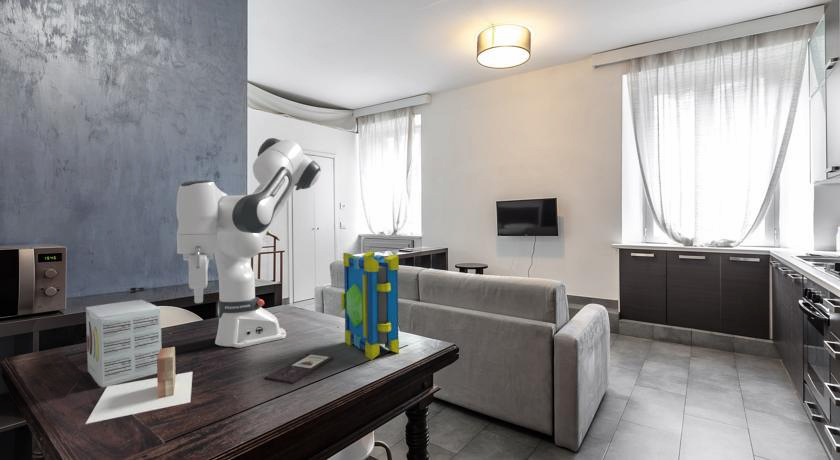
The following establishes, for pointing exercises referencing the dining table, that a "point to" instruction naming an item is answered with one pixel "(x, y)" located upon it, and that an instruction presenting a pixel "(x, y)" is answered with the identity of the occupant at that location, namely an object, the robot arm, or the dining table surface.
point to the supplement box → (123, 341)
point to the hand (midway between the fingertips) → (198, 302)
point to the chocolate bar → (298, 369)
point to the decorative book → (371, 302)
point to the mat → (139, 398)
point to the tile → (166, 372)
